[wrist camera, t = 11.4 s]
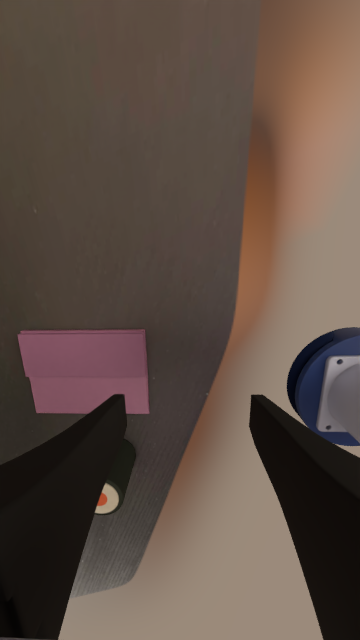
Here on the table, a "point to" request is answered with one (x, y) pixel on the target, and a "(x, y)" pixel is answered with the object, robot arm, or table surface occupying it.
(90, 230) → the table surface
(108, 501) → the sushi roll
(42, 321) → the table surface
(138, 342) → the napkin
